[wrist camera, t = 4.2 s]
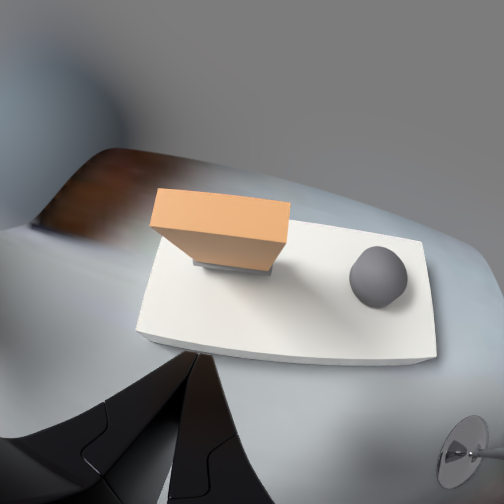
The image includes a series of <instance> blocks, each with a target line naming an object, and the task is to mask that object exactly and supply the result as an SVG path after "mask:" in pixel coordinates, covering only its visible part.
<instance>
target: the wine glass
mask: <svg viewBox="0 0 504 504" xmlns="http://www.w3.org/2000/svg"><path fill="white" fill-rule="evenodd" d="M488 439H489V433H488V427H487V424H486V422H485V421H484V419H482V418H481V417H479V416H476V415H473V416H469V417H467V418H465V419H463V420H462V421H461V422H460V423H458V424H457V425H456V426H455V428H454V429H453V430H452V431H451V433H450V434H449V436H448V438H447V439H446V441H445V443H444V445H443V448H442V450H441V453H440V456H439V460H438V464H437V477H438V481H439V483H440V485H441V486H442V487H444V488H446V489H453V488H457V487H459V486H461V485H463V484H464V483H466V482H467V481H468V480H469V479H470V478H471V477H472V476H473V475H474V474H475V472H476V471H477V470H478V468H479V466H480V465H481V463H482V461H483V459H484V458H494V459H500V460H504V447H500V448H494V449H487V446H488Z"/></svg>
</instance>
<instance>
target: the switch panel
mask: <svg viewBox="0 0 504 504" xmlns="http://www.w3.org/2000/svg"><path fill="white" fill-rule="evenodd" d="M374 246H380V247H385V248H387V249H389V250H391V251H393V252H394V253H395V254H396V255H397V256H398V257H399V258H400V259H401V260H402V262H403V264H404V266H405V268H406V271H407V276H408V282H407V287H406V289H405V291H404V292H403V294H402V295H401V296H399V297H398V298H397V299H395V300H394V301H393V302H391V303H390V304H389V305H387V306H385V307H382V308H373V307H370V306H367V305H365V304H364V303H362V302H361V301H360V300H359V299H358V298H357V297H356V296H355V294H354V293H353V291H352V289H351V286H350V281H349V274H350V270H351V267H352V266H353V264H354V263H355V262H356V260H357V259H358V258H359V256H360V255H361V254H362V253H363V251H365V250H366V249H368V248H370V247H374ZM135 331H137V332H138V333H139V334H141V335H142V336H143V337H145V338H146V339H148V340H149V341H151V342H156V343H160V344H165V345H170V346H174V347H179V348H185V349H190V350H195V351H201V352H207V353H213V354H219V355H226V356H233V357H240V358H248V359H256V360H265V361H275V362H286V363H299V364H315V365H339V366H390V365H413V364H416V363H419V362H423V361H426V360H429V359H432V358H435V357H437V356H436V337H435V324H434V314H433V305H432V298H431V290H430V284H429V278H428V272H427V266H426V261H425V256H424V251H423V247H422V242H420V241H415V240H409V239H404V238H399V237H393V236H388V235H382V234H376V233H371V232H365V231H359V230H353V229H347V228H341V227H335V226H328V225H322V224H315V223H308V222H302V221H295V220H289V225H288V234H287V243H286V245H285V246H284V248H283V249H282V251H281V252H280V254H279V255H278V257H277V258H276V260H275V261H274V263H273V267H272V273H271V276H266V275H258V274H251V273H243V272H236V271H228V270H221V269H214V268H207V267H199V266H194V265H193V259H192V258H191V257H190V256H188V255H187V254H186V253H184V252H183V251H182V250H180V249H179V248H178V247H176V246H175V245H174V244H172V243H171V242H170V241H169V240H167V239H166V238H165V237H163V236H162V238H161V241H160V245H159V248H158V251H157V254H156V257H155V260H154V264H153V267H152V270H151V274H150V277H149V281H148V284H147V288H146V291H145V295H144V298H143V302H142V306H141V310H140V314H139V318H138V322H137V326H136V330H135Z"/></svg>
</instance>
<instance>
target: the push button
mask: <svg viewBox="0 0 504 504" xmlns="http://www.w3.org/2000/svg"><path fill="white" fill-rule="evenodd" d="M349 281H350V286H351V289H352V291H353V293H354V294H355V296H356V297H357V298H358V299H359V300H360V301H361V302H362V303H364V304H365V305H367V306H370V307H373V308H382V307H385V306H387V305H389V304H390V303H391V302H393V301H394V300H395V299H397V298H398V297H399V296H401V295H402V294H403V292H404V291H405V289H406V287H407V282H408V276H407V271H406V268H405V266H404V264H403V262H402V260H401V259H400V258H399V257H398V256H397V255H396V254H395V253H394V252H393V251H391V250H389V249H387V248H385V247H380V246H374V247H370V248H368V249H366V250H365V251H363V253H362V254H361V255H360V256H359V258H358V259H357V260H356V262H355V263H354V264H353V266H352V267H351V270H350V274H349Z"/></svg>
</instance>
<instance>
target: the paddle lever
mask: <svg viewBox="0 0 504 504" xmlns="http://www.w3.org/2000/svg"><path fill="white" fill-rule="evenodd" d="M290 204H291V203H289V202H281V201H274V200H267V199H259V198H251V197H243V196H234V195H226V194H216V193H206V192H196V191H185V190H173V189H160V188H158V192H157V196H156V200H155V204H154V209H153V213H152V218H151V222H150V227H152V228H153V229H154V230H156V231H157V232H158V233H159V234H161V235H162V236H163V237H165V238H166V239H167V240H169V241H170V242H171V243H172V244H174V245H175V246H176V247H178V248H179V249H180V250H182V251H183V252H184V253H186V254H187V255H188V256H190V257H191V258H192V259H193V265H194V266H199V267H207V268H214V269H221V270H228V271H236V272H243V273H251V274H258V275H266V276H271V273H272V267H273V263H274V261H275V260H276V258H277V257H278V255H279V254H280V252H281V251H282V249H283V248H284V246H285V245H286V243H287V234H288V225H289V214H290Z"/></svg>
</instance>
